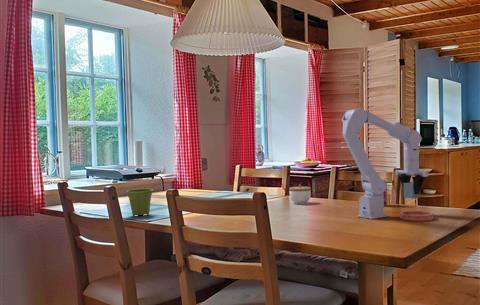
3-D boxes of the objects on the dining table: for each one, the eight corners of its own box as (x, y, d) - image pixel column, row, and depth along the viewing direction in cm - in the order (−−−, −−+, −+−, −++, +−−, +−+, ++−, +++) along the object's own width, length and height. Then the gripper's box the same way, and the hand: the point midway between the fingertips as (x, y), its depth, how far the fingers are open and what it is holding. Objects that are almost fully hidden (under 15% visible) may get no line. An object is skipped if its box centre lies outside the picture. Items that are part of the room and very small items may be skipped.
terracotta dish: (418, 222, 172) (418, 216, 172) (393, 218, 183) (393, 212, 183) (440, 218, 178) (439, 213, 178) (414, 214, 189) (414, 209, 189)
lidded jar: (286, 202, 235) (286, 184, 235) (307, 201, 237) (306, 183, 237) (293, 205, 225) (292, 186, 225) (314, 204, 227) (313, 184, 226)
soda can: (384, 206, 212) (383, 180, 211) (369, 205, 216) (368, 180, 216) (389, 204, 217) (389, 179, 217) (374, 203, 222) (374, 178, 221)
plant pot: (136, 212, 215) (135, 188, 215) (158, 213, 211) (158, 188, 211) (121, 217, 204) (120, 191, 204) (145, 217, 200) (144, 191, 200)
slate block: (412, 198, 186) (412, 183, 186) (403, 197, 190) (403, 182, 190) (420, 197, 189) (420, 182, 189) (411, 196, 193) (410, 182, 192)
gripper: (433, 160, 185) (433, 194, 185) (403, 159, 197) (404, 191, 198) (421, 160, 181) (422, 195, 182) (392, 159, 194) (392, 192, 194)
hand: (411, 193), depth 189 cm, fingers closed on slate block, 4 cm apart
